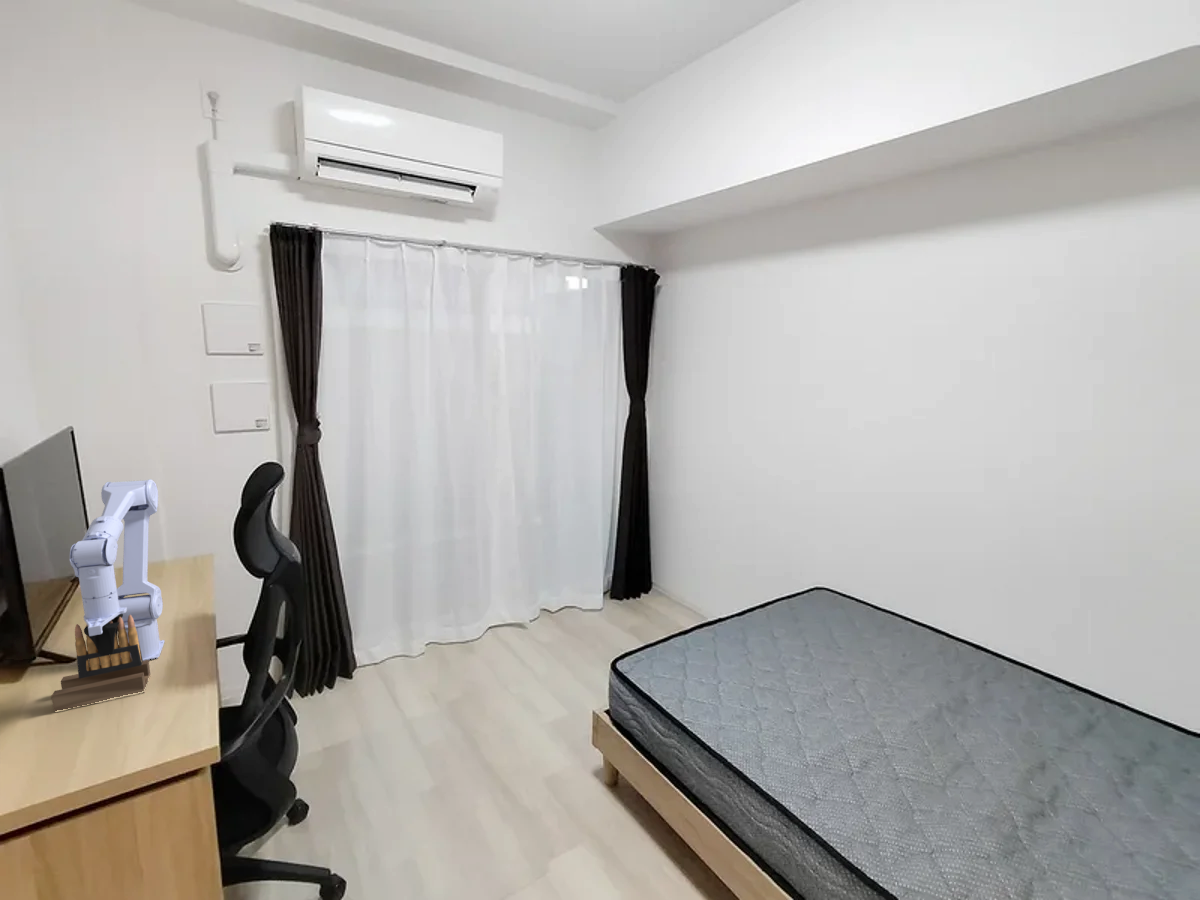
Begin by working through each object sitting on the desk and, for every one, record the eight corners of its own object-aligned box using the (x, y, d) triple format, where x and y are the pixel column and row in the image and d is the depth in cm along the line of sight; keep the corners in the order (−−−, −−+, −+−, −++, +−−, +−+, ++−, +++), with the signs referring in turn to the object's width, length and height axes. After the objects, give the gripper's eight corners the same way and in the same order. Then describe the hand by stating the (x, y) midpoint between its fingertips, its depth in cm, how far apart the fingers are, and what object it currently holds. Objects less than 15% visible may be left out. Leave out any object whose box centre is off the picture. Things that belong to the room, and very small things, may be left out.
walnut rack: (66, 693, 127) (63, 676, 126) (150, 675, 134) (148, 659, 134) (54, 713, 120) (51, 695, 119) (144, 693, 127) (141, 676, 127)
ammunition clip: (143, 661, 129) (135, 612, 127) (141, 665, 128) (134, 615, 126) (80, 674, 124) (72, 623, 122) (78, 678, 122) (70, 627, 120)
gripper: (116, 602, 118) (124, 662, 121) (129, 578, 131) (137, 632, 133) (71, 609, 115) (81, 671, 117) (89, 583, 127) (98, 640, 130)
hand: (108, 651), depth 125 cm, fingers closed on ammunition clip, 2 cm apart
